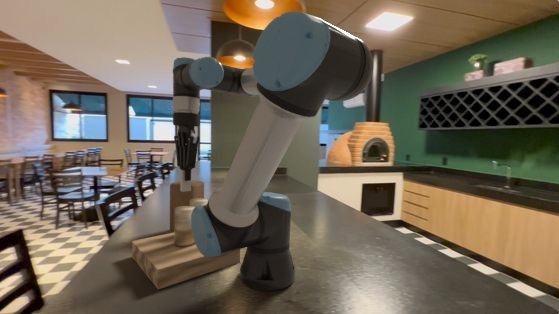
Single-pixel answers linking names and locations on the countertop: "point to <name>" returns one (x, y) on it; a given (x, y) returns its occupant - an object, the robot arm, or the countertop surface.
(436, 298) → the countertop surface
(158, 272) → the seat board
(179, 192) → the block
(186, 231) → the peg
